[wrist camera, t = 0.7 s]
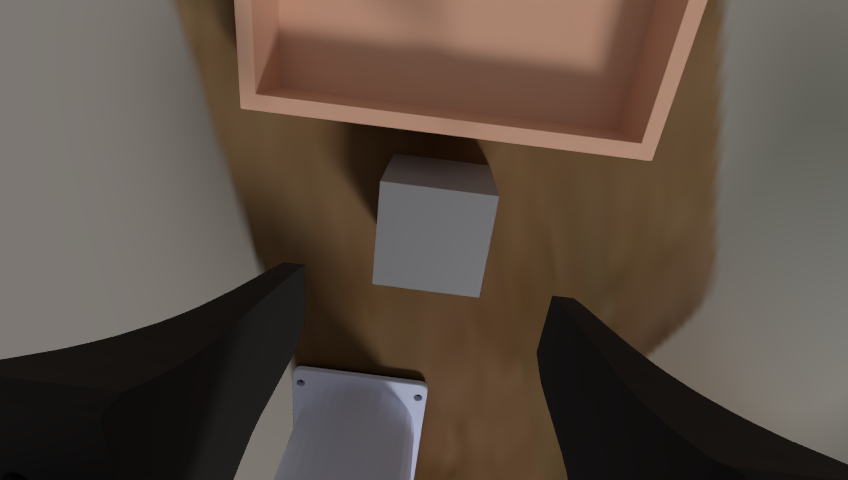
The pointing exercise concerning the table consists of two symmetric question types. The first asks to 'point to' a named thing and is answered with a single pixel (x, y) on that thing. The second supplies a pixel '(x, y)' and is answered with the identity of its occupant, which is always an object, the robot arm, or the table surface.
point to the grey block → (434, 225)
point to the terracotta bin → (474, 66)
